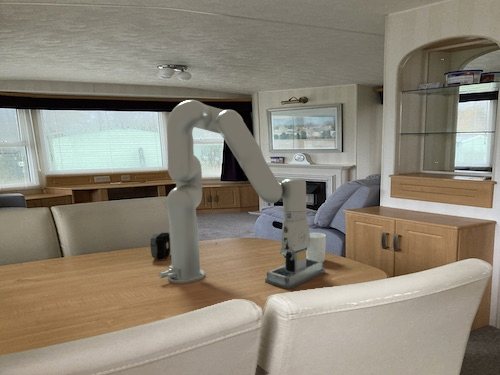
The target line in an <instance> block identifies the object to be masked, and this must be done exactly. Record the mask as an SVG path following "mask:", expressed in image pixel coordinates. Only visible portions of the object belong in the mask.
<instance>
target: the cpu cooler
mask: <svg viewBox="0 0 500 375" xmlns="http://www.w3.org/2000/svg"><path fill="white" fill-rule="evenodd" d="M149 244H150V253H151V254H150V255H151V257H152V258H153V259H157V260H166V259H167V258H168V257H169V256H170V255H171V244H170V232H160V233H153V234H152V236H151V238H150V243H149Z"/></svg>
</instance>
